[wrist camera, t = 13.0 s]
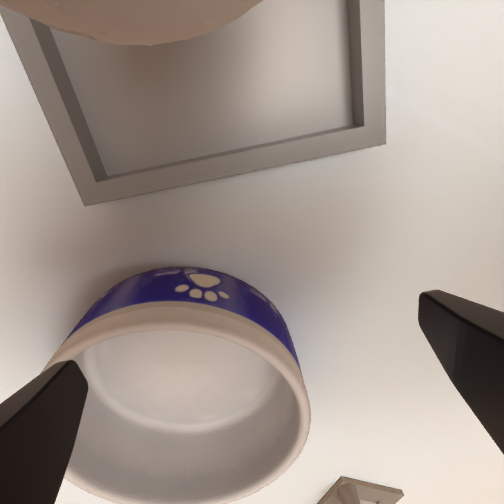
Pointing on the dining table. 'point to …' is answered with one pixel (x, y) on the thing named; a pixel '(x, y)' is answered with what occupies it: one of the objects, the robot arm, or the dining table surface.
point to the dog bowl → (185, 391)
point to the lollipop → (133, 18)
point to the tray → (210, 95)
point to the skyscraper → (360, 493)
